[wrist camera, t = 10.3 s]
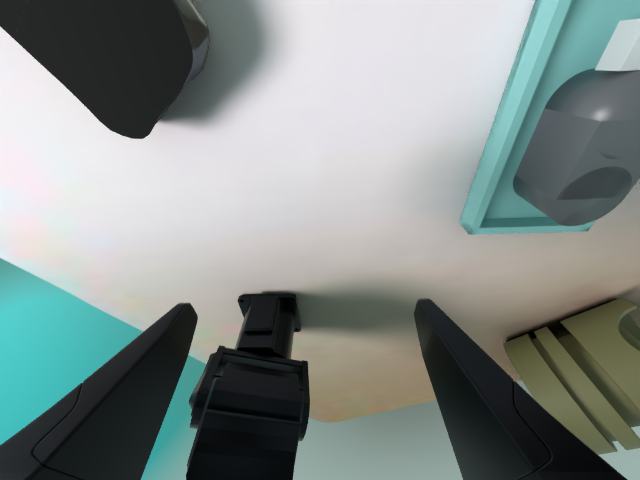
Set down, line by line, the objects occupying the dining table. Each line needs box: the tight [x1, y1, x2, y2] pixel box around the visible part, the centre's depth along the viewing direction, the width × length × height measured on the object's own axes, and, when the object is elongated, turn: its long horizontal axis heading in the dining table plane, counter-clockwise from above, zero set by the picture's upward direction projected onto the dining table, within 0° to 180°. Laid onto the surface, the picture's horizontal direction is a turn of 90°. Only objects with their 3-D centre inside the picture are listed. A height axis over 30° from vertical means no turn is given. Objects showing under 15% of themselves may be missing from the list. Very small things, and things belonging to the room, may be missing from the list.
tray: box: [459, 0, 640, 234], centre depth 16 cm, size 15×9×2 cm, turn 3°
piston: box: [504, 298, 640, 455], centre depth 26 cm, size 11×12×11 cm
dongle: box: [513, 18, 640, 226], centre depth 15 cm, size 10×4×4 cm, turn 3°
